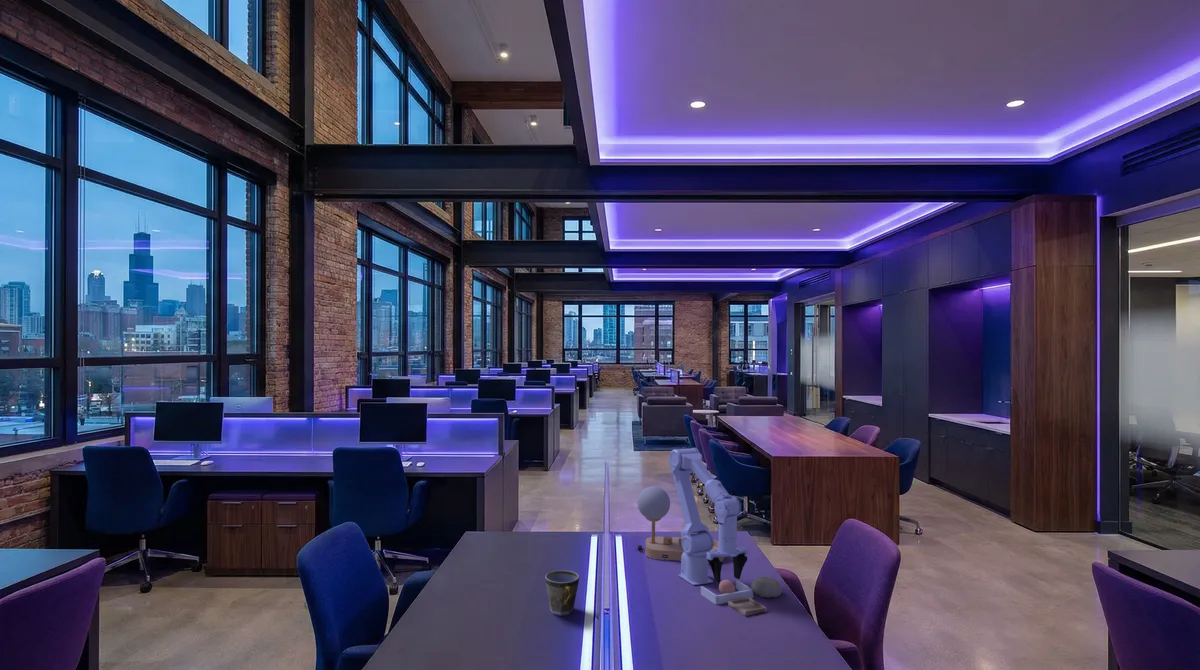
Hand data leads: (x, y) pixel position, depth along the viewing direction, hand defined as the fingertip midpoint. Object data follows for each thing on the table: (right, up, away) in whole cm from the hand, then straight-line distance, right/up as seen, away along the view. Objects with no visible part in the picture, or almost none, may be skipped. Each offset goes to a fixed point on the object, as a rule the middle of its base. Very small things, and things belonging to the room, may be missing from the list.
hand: (727, 579), depth 186 cm
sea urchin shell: (+13, -6, +3) cm, 15 cm away
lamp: (-10, -7, +39) cm, 41 cm away
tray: (+4, -5, -9) cm, 11 cm away
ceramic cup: (-51, -4, -15) cm, 53 cm away
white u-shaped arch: (0, -5, 0) cm, 5 cm away
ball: (0, -5, 0) cm, 5 cm away
